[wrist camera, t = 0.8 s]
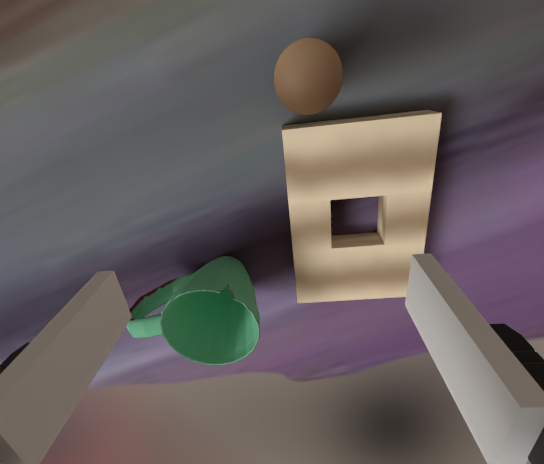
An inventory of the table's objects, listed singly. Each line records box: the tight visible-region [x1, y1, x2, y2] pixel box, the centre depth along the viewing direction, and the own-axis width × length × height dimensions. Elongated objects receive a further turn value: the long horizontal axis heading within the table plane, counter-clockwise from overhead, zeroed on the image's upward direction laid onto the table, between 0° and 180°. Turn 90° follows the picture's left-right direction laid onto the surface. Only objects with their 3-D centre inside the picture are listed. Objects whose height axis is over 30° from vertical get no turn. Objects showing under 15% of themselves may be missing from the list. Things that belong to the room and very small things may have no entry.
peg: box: [274, 38, 343, 115], centre depth 23 cm, size 4×4×12 cm
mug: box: [126, 256, 260, 365], centre depth 34 cm, size 15×10×10 cm
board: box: [282, 110, 442, 303], centre depth 33 cm, size 20×14×3 cm
